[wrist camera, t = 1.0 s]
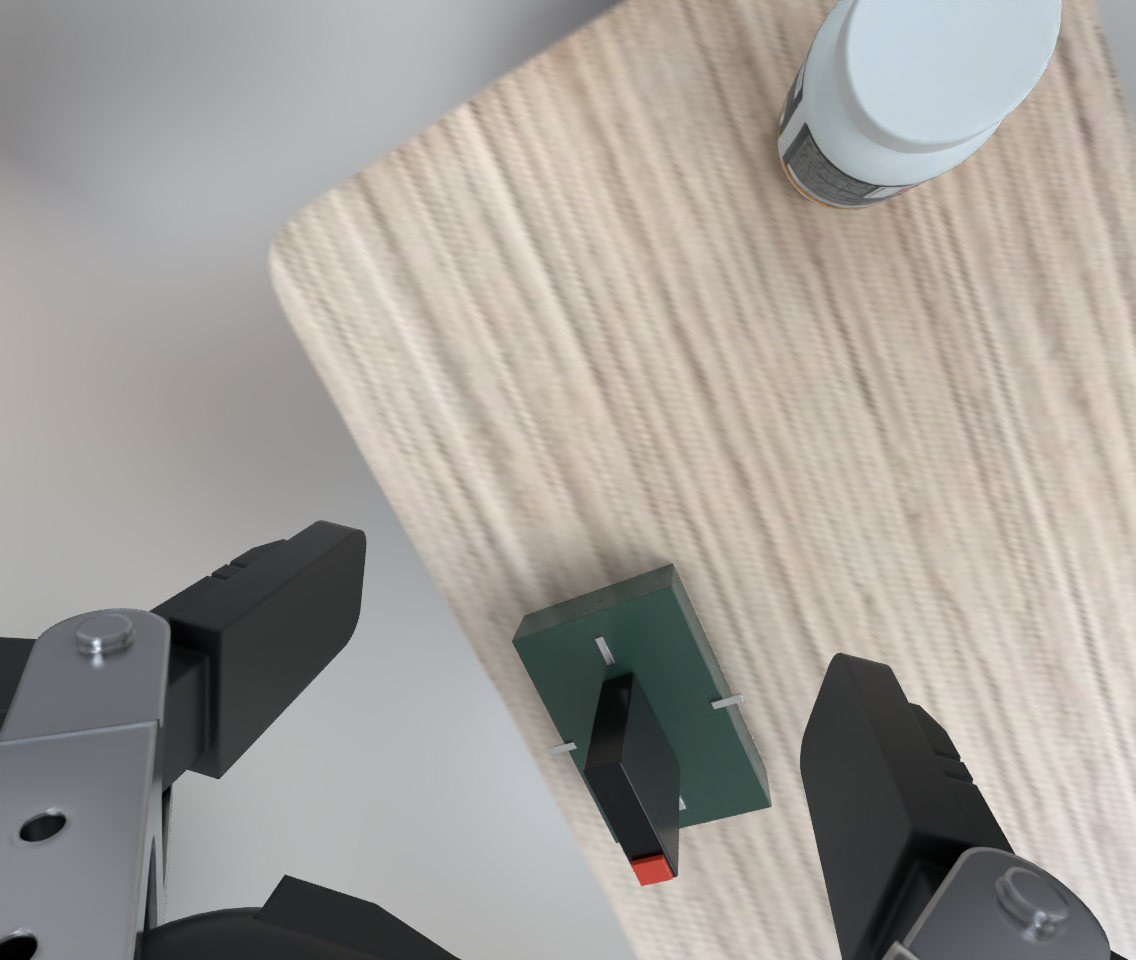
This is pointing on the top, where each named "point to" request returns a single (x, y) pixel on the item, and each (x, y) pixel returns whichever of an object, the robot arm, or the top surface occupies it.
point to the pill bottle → (907, 92)
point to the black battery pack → (635, 779)
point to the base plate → (647, 687)
